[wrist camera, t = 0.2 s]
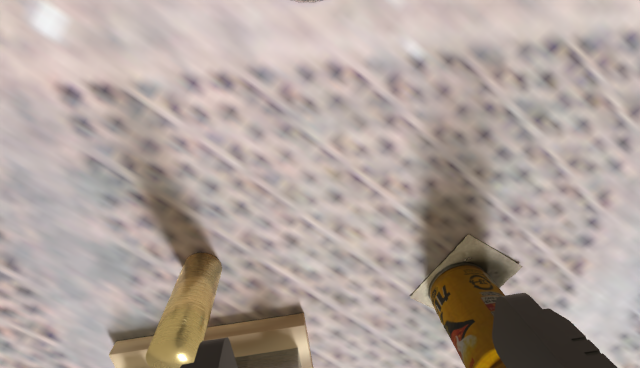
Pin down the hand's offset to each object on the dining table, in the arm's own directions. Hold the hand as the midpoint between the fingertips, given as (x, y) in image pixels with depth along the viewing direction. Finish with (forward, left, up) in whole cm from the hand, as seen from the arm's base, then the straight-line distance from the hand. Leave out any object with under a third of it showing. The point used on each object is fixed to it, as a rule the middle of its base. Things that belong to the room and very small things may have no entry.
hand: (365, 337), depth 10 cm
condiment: (+16, +13, -18) cm, 27 cm away
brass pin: (+10, -11, -18) cm, 23 cm away
